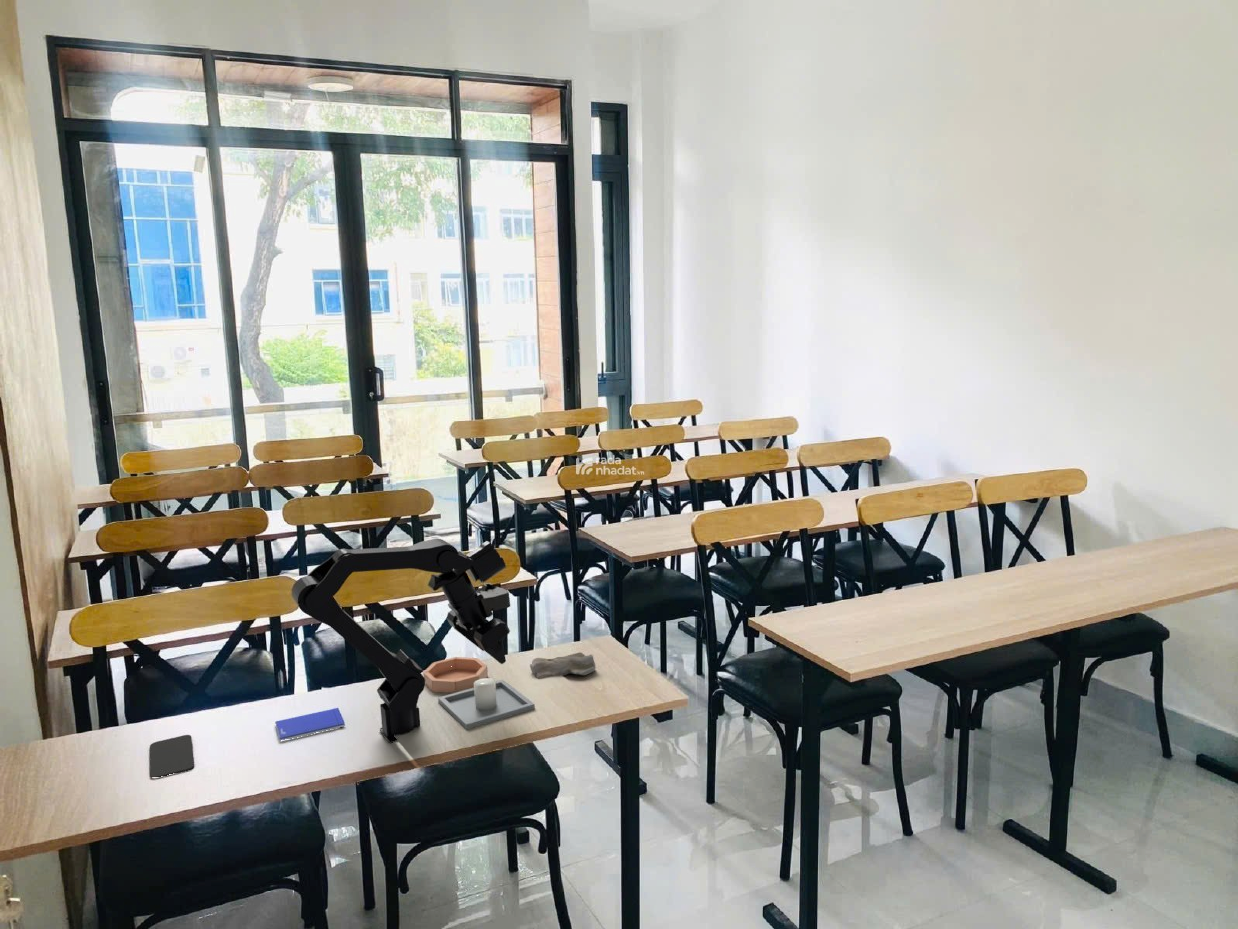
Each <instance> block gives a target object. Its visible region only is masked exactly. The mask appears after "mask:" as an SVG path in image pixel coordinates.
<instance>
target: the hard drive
mask: <svg viewBox="0 0 1238 929" xmlns="http://www.w3.org/2000/svg"><path fill="white" fill-rule="evenodd" d="M274 724H276V725H275V728H277V729H276V733H277V732H278V733H277V736H279V737H278V740H280V741H281V740H285V739H292V738H297V737H301V736H305V737H308V736H307V735H309V736H312V735H311V734H314V733H316V732H322V731H326V730H330V729H335V728H339V729H341V728H340V727H343V728H345V727H346V722H345V720H344V718H343V716H342V713H341V711H340V709H339V707H335V708H331V709H327V710H322V711H317V712H313V713H307V714H302V715H299V716H295V717H290V718H285V719H280V720H277V721H275V723H274ZM344 726H345V727H344ZM335 730H336V729H335ZM326 732H327V731H326ZM322 733H323V732H322ZM314 735H315V734H314ZM301 738H302V737H301ZM297 739H298V738H297ZM292 740H293V739H292ZM280 741H279V742H280Z"/></svg>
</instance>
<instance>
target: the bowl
mask: <svg viewBox="0 0 1238 929" xmlns="http://www.w3.org/2000/svg"><path fill="white" fill-rule="evenodd" d="M451 666H452V667H451ZM488 674H489V673H488V664H486V663H484V662H483V661H482V660H480V658H478V657H464V656H463V657H462V656H461V657H460V656H455V657H454V656H453V657H451V658H446V659H442V660H438V661H434V662H432V663H431V664H430V665H429V666H428V667H427V668H426V669H425V670H423V672H422V675H423V677H424V678H425V686H426V687H427V688H428V689H429V690H430V691H432V693H433V692H434V693H435V692H436V693H437V692H438V693H447V694H449V693H450V694H453V693H456V692H460V691H464V690H467V689H471V688H474V682H475V681H477V680H479V679H483V678H488V677H489V675H488Z"/></svg>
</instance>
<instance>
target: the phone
mask: <svg viewBox="0 0 1238 929" xmlns="http://www.w3.org/2000/svg"><path fill="white" fill-rule="evenodd" d="M193 745H194V744H193V739H192V736H191V735H190V734H184V735H180V736H174V737H171V738H167V739H161V740H157V741H155V742H152V743H151V744H150V745H149V776H150V777H161V776H166V777H168V776H167V775H169V774H173V773H178V774H181V772H182V773H185V771H186V772H188V770H190V771H192V770H193V769H194V768H195V757H193V756H194V749H193V748H194V746H193Z"/></svg>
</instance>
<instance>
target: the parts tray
mask: <svg viewBox="0 0 1238 929" xmlns="http://www.w3.org/2000/svg"><path fill="white" fill-rule="evenodd" d="M495 686H496V702H497V705H496V707H494V708H492V709H489V710H479V709H477V708H476V707H475V695H474V688H471V689H467V690H464V691H460V692H456V693H450V694H449V693H448V694H447V695H442V696H439V697H438V698H437V701H438V704H440V705H441V706H442V707H443V708H444V710H446V711H447V712H448V713H449V714H450V715H451V716H452V717H453V718H454V719H455V720H456V721H457V722H458V723H459V724H460V725H461V726H462V727H463V728H464V729H465V730H470V729H473V728H476V727H479V726H483V725H487V724H490V723H493V722H496V721H500V720H502V719H506V718H509V717H512V716H515V715H519V714H522V713H526V712H529V711H532V710H535V709H536V706H535V703H534V702H533V701H531V700H530V699H529V698H527V697H526V696H525V695H524V694H522V693H521V692H520V691H519V690H517V689H516V688H515V687H513V685H511V684H509V682H507V681H506V680H504V679H501V680H495Z"/></svg>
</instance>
